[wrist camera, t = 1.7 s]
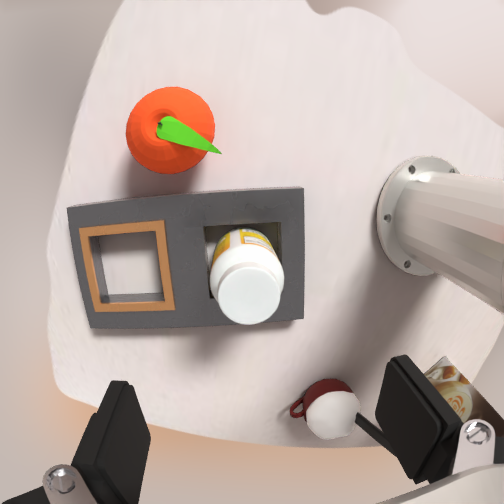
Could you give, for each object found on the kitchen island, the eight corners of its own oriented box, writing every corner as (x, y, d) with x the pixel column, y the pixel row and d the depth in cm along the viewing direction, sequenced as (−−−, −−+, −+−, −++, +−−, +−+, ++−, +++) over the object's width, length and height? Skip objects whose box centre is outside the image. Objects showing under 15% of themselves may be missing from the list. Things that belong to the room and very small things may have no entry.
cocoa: (282, 403, 35) (294, 483, 23) (301, 364, 33) (322, 447, 21) (350, 410, 35) (376, 481, 24) (372, 375, 34) (408, 446, 22)
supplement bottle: (263, 218, 28) (280, 245, 19) (278, 272, 30) (300, 320, 20) (205, 236, 28) (195, 271, 19) (224, 289, 30) (223, 343, 20)
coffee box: (444, 353, 35) (513, 424, 19) (455, 375, 36) (515, 440, 21) (393, 397, 36) (447, 482, 20) (409, 415, 37) (457, 490, 22)
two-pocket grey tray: (298, 186, 27) (304, 188, 25) (299, 309, 31) (304, 320, 28) (76, 204, 26) (65, 208, 24) (97, 319, 29) (89, 329, 27)
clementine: (241, 121, 26) (245, 105, 19) (205, 191, 27) (198, 199, 20) (161, 86, 24) (140, 62, 17) (127, 155, 26) (96, 152, 19)
